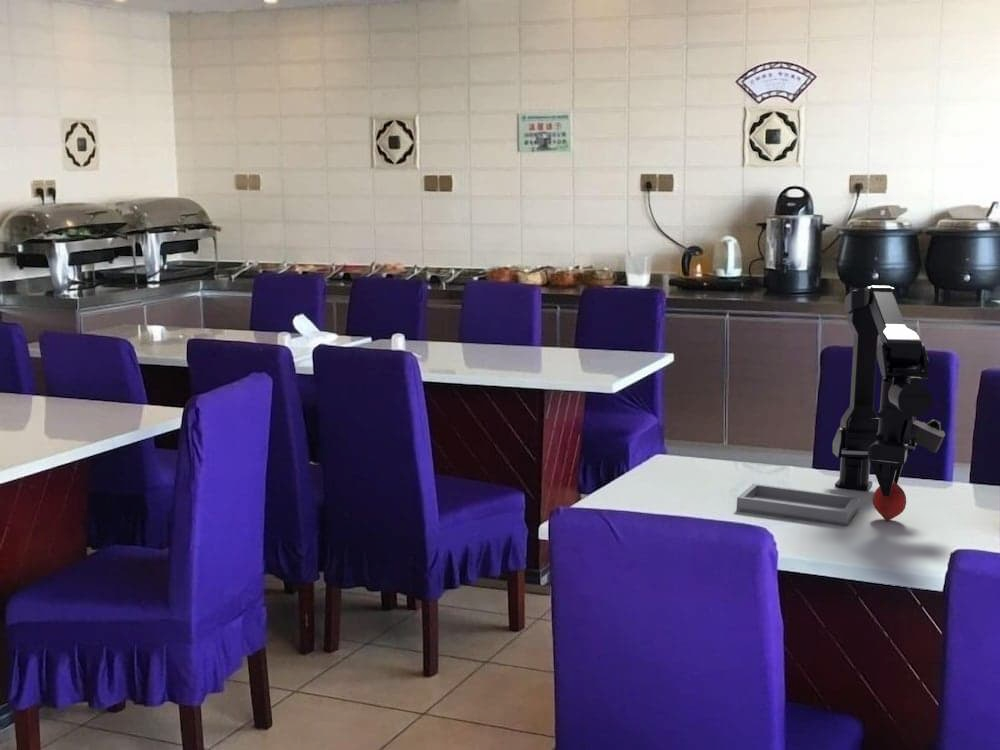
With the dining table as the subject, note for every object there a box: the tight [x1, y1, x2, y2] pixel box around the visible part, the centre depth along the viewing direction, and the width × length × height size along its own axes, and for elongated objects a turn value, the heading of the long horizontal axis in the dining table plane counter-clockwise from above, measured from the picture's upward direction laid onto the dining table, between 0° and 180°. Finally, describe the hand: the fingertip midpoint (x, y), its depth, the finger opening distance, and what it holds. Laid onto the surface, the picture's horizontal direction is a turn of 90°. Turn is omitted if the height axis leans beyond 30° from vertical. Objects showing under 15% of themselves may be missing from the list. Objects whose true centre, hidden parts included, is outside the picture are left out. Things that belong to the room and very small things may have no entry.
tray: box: [736, 483, 860, 527], centre depth 225 cm, size 12×20×2 cm, turn 64°
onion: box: [872, 482, 907, 521], centre depth 220 cm, size 6×6×8 cm
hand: (890, 490), depth 220 cm, fingers open, 9 cm apart
